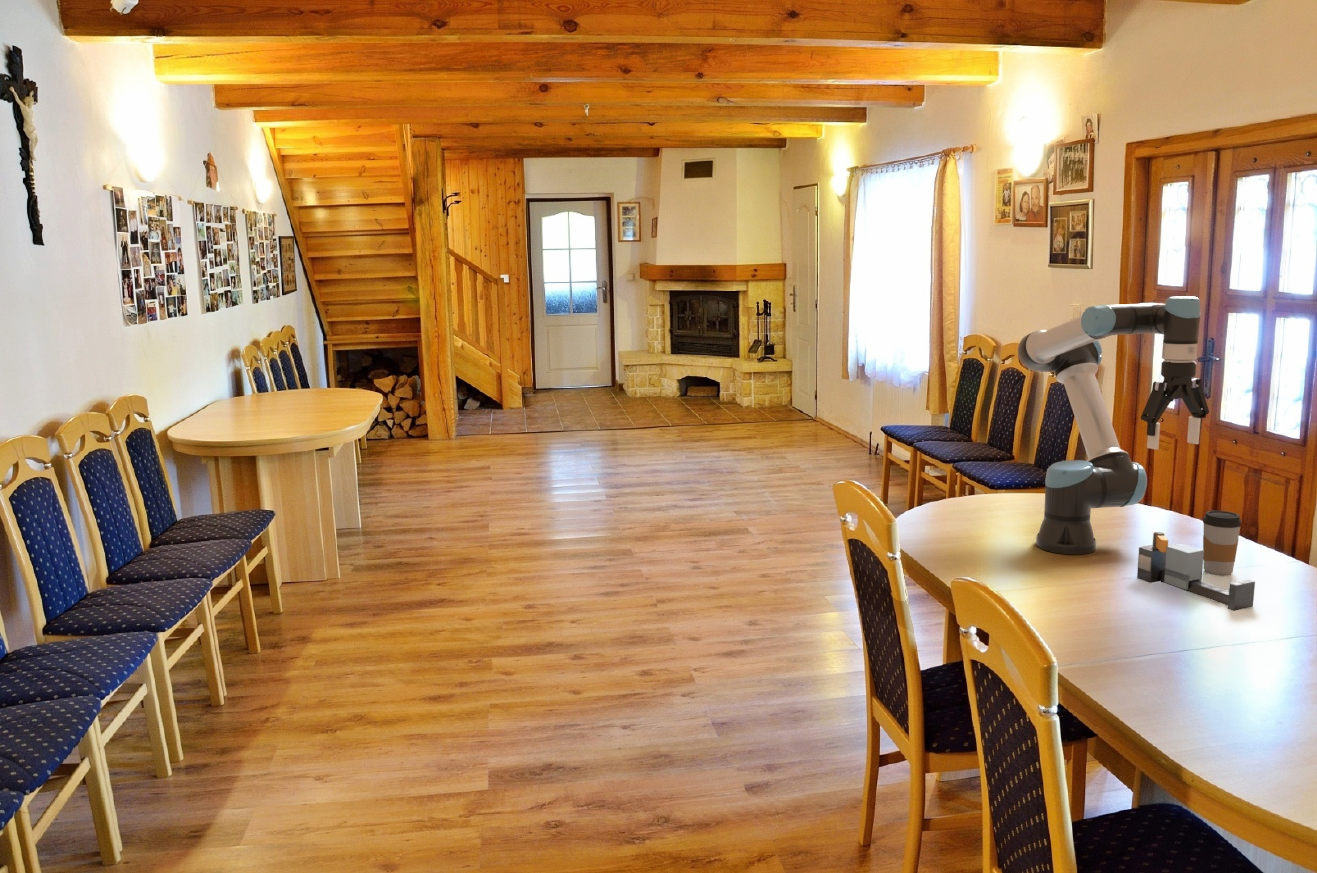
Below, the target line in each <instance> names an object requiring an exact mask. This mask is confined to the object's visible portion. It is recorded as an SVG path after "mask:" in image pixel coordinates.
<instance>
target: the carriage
mask: <svg viewBox="0 0 1317 873" xmlns="http://www.w3.org/2000/svg"><path fill="white" fill-rule="evenodd" d="M1171 545H1172V544H1171ZM1203 557H1204V550H1203V548H1202V549H1201V548H1197V547H1194V546H1192V545H1188V544H1185V543H1179V544H1178V543H1177V544H1173V545H1172V546H1167V552H1166V565H1165V579H1164V582H1165V583H1168V584H1171V585H1174V586H1177V587H1179V588H1182V589H1185V590H1187V589H1188V583H1189V581H1192V580H1198V581H1201V582H1203V581H1202V580H1203V570H1204V560H1203ZM1165 583H1164V584H1165ZM1168 584H1167V585H1168ZM1171 585H1170V586H1171ZM1179 588H1178V589H1179ZM1182 589H1181V590H1182ZM1185 590H1184V591H1185Z"/></svg>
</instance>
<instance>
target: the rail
mask: <svg viewBox="0 0 1317 873" xmlns="http://www.w3.org/2000/svg"><path fill="white" fill-rule="evenodd" d="M1164 579H1165V572H1161V581H1160V583H1162V584H1164V585H1168V586H1171V587H1173V588H1177V589H1179V590H1182V591H1185V592H1189V593H1190V594H1194V595H1197V596H1199V597H1202V598H1205V599H1209V600H1211V601H1214V602H1217V603H1219V604H1222V605H1225V606H1228V598H1229V590H1227V589H1223V588H1221V587H1217V586H1216V585H1212V584H1209V583H1206V582H1203V581H1202V582H1201V581H1198V580H1192V581H1189V583H1188V589H1187V590H1185V589H1182V588H1179V587H1177V586H1174V585H1171V584H1168V583H1165V582H1164Z"/></svg>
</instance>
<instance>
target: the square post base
mask: <svg viewBox="0 0 1317 873" xmlns="http://www.w3.org/2000/svg"><path fill="white" fill-rule="evenodd" d="M1255 586H1256V581H1255V580H1252V579H1249V578H1247V579H1244V580H1240V581H1234V582H1230V583H1229V588H1228V591H1229V598H1228V605H1227V610H1230V611H1233V612H1236V611H1240V610H1245V609H1249V608H1254V598H1255V588H1256V587H1255Z"/></svg>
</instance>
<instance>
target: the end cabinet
mask: <svg viewBox="0 0 1317 873" xmlns="http://www.w3.org/2000/svg"><path fill="white" fill-rule="evenodd" d="M1168 546H1172V544H1169V543H1168ZM1137 559H1138V560H1137V573H1136V575H1137V576H1136V579H1138V580H1140V581H1143V582H1147V583H1149V584H1152V583H1158V582H1161V572H1165V565H1166V552H1160V551H1159V550H1158V549H1157V548H1156V547H1154V546H1153V544H1150V545H1144V546H1139V547H1138V558H1137Z"/></svg>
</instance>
